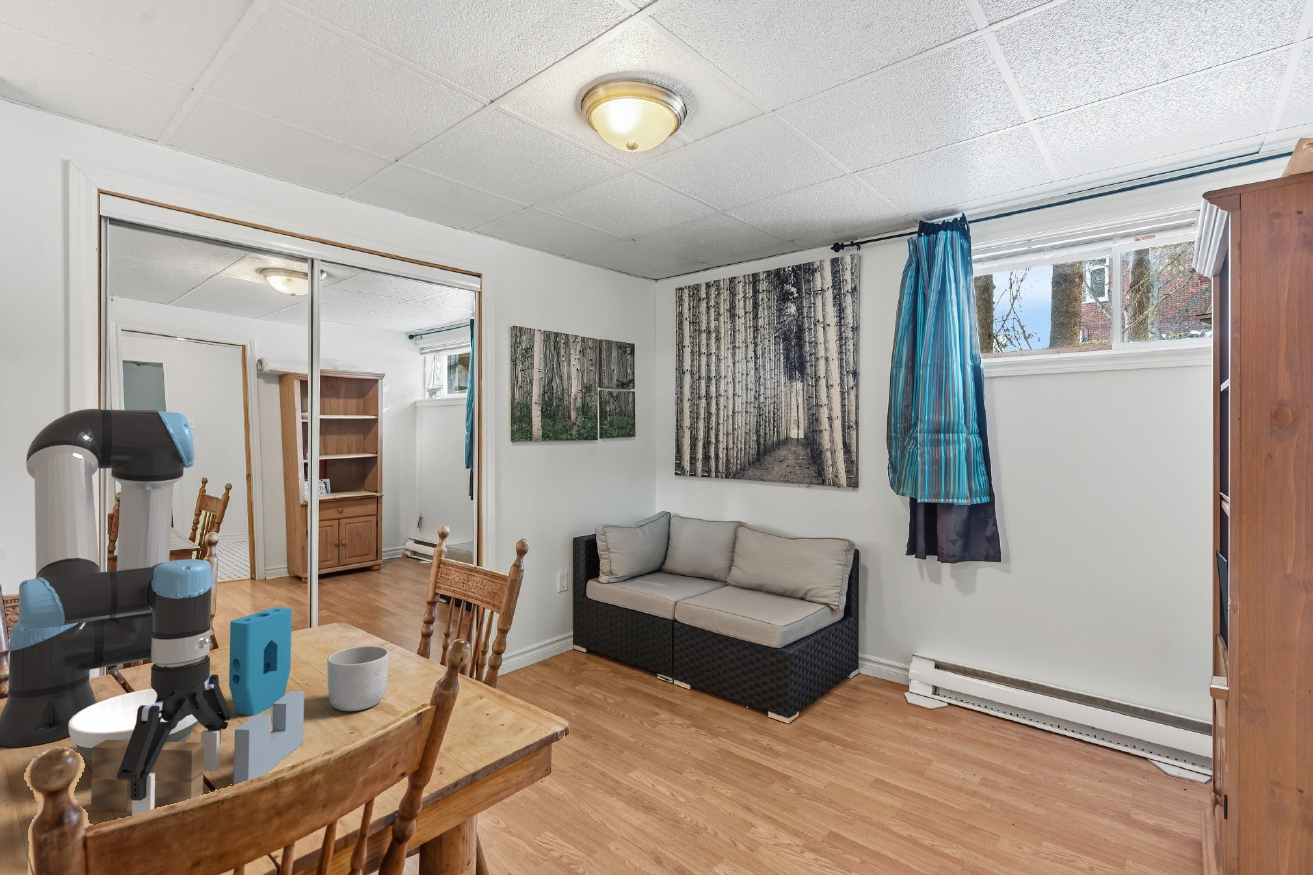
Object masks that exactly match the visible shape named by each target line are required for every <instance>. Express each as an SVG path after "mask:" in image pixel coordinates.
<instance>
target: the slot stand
mask: <svg viewBox="0 0 1313 875" xmlns="http://www.w3.org/2000/svg"><path fill="white" fill-rule="evenodd" d="M304 714H305V691H304V690H301V691H300V690H291V691H289V692H288V693H285V696H283V697H282V698H280V699H279V700H277V701H276V702H274V703H273V707H272V715H271V714H260V713H258V714H256V715H253V717H252V716H251V718H250V719H248V720H246V721H245V722H244V723H242V724H241V725H240V726H238V727H236V728H235V729H234V745H233V746H234V747H233V748H234V749H233V755H234V756H233V785H234V784H238V783H241V782H243V781H247V780H249V779H253V778H255V777H259V776H262V775H264V776H266V775H267V774H268V773H269V772H270V771H271V770H273V769H274V768H275V767H276V766H277V765H279V764H280V763H281V762H282V761H283V760H284V759H285V758H287V757H288V756H289V755H290V754H292V752H294V751H295V750H296V749H297V748H298V747H300V746H301V745H303V744H304V723H305V722H304V717H305V715H304ZM271 722H272V723H271ZM271 725H272V727H271Z"/></svg>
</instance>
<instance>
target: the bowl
mask: <svg viewBox="0 0 1313 875" xmlns="http://www.w3.org/2000/svg"><path fill="white" fill-rule="evenodd" d="M156 698H157V693H156V692H155V690H153V689H152V688H146V689H142V690H136V691H132V692H127V693H125V694H119V695H116V696H113V697H110V698H106V699H104V700H100V701H98V702H97V703H96V704H93V705H91V706H89V707H87V708H85V709H83V710H81V711H80V712H78V713H77V714H76V715H74V716H73V717H72V718H71V719H70V721H69V725H68V726H69V734H70V736H69V737H70V740H71V742H72V743H73V744H74V745H75V747H77V749H78V750H79V752H81V753H84V755H85V757H86V758H87V760H89V762H92V747H94V746H95V745H97V744H99V743H101V742H103V741H105V740H130V738H131V735H132V733H133V730H134V727H135V724H136V719H137V710H138V708H139V707H140V706H141V705H152V704H154V703H155V701H156ZM160 722H167V721H164V720H163V718H162V719H161V721H160ZM199 723H200V722H199V721H198V720H197V719H196V718H195V717H194V716H193V715H192V714H191V715H189V716H186V717H185V718H184V719H183V720H181V721H179V722H178V724H177V726H176V727H175V728H174V729H172V730H171V732H170V734H169V736H168V738H167V740H166V742H186V741H187V739H188V738H189V737H190V736H191V734H192V732H193V729H195V727H196V726H197V725H198V724H199Z"/></svg>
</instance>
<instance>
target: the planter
mask: <svg viewBox="0 0 1313 875" xmlns="http://www.w3.org/2000/svg"><path fill="white" fill-rule="evenodd" d="M389 658H390V651H389V649H387V648H385V647H382V646H379V645H360V646H352V647H347V648H343V649H340V650H338V651H335V652H333V653H331V654H330V655H329V656H328V657H327V659H326V660H327V661H326V662H327V664H326V665H327V668H326V669H327V690H328V691H327V692H328V700H329V703H330V705H331V706H332V707H333V708H335V709H336V710H338V711H343V712H357V711H362V710H363V711H364V710H366V709H369V708H372V707H374V706H376V705H378V703H380V702H381V701H382V699H383V698H384V696H385V695H386V690H387V685H388V674H389V673H388V672H389V661H390V660H389Z"/></svg>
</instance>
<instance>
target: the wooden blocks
mask: <svg viewBox="0 0 1313 875" xmlns="http://www.w3.org/2000/svg"><path fill="white" fill-rule="evenodd" d="M129 741H130V740H105V741H103V742H101V743H99V744H97V745H95V746H94V747H92V761H91V784H90V785H91V788H90V790H91V793H90V794H91V795H90V796H91V797H90V798H91V799H90V811H97V812H99V811H100V812H123V813H124V812H125V813H126V812H128V811H130V810H132V800H131V798H130V794H131V793H130V790H131V780H118V779H117V774H118V771H119V769H120V766H121V763H122V760H123V758H124V755H125V752H126V749H127V746H128V744H129ZM203 760H204V743H201V742H193V741H192V742H191V741H190V742H186V741H185V742H165V744H164V746H163V748H162V750H161V752H160V754H159V756H158V758H157V760H156V762H155V764H154V766H153V768H152V770H151V772H150V773H155V799H154V810H155V809H156V808H157V807H162V806H165V805H170V804H174V803H178V802H181V801H185V800H187V799H191V798H193V797H197V796H200V795H202V794H203V795H204V771H203ZM143 768H144V765H143ZM143 768H142V769H143Z"/></svg>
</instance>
